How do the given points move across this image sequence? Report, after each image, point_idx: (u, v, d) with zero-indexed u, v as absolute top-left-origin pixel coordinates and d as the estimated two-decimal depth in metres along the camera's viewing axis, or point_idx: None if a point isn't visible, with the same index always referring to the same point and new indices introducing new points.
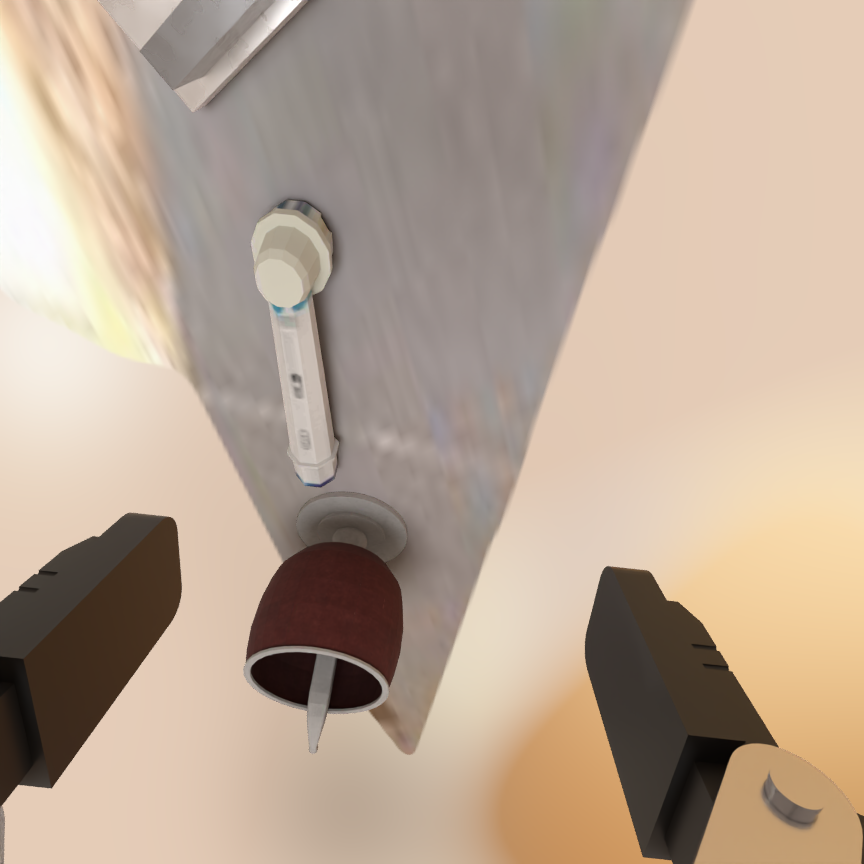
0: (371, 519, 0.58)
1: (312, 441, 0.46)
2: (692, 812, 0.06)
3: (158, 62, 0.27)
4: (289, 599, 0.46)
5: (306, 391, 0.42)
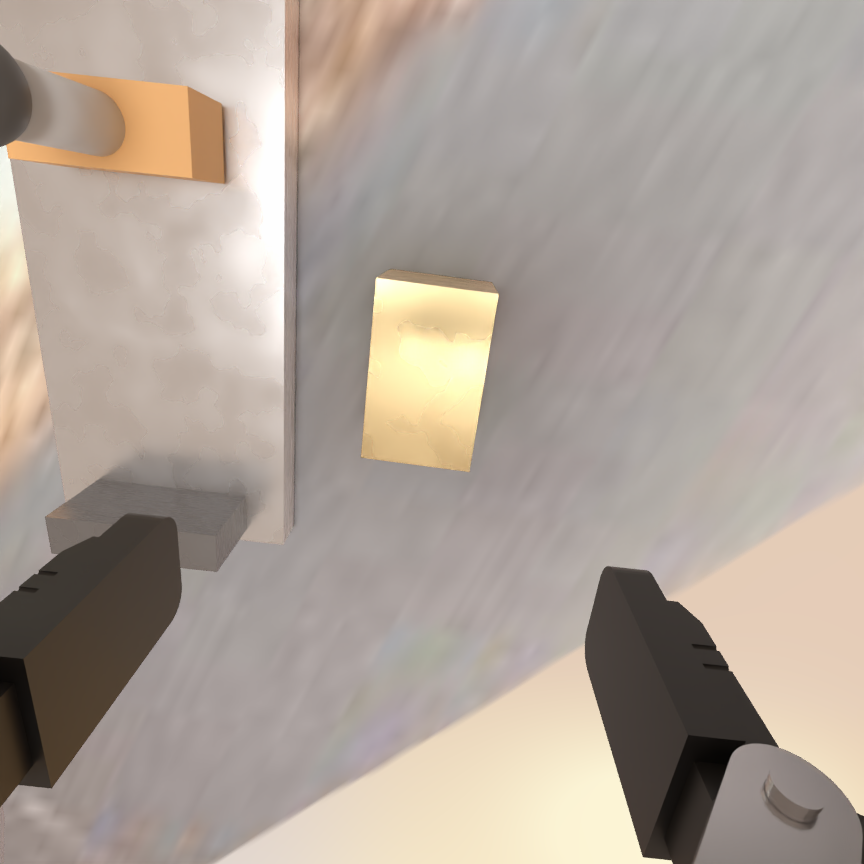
0: None
1: None
2: (692, 812, 0.06)
3: (55, 533, 0.26)
4: None
5: None
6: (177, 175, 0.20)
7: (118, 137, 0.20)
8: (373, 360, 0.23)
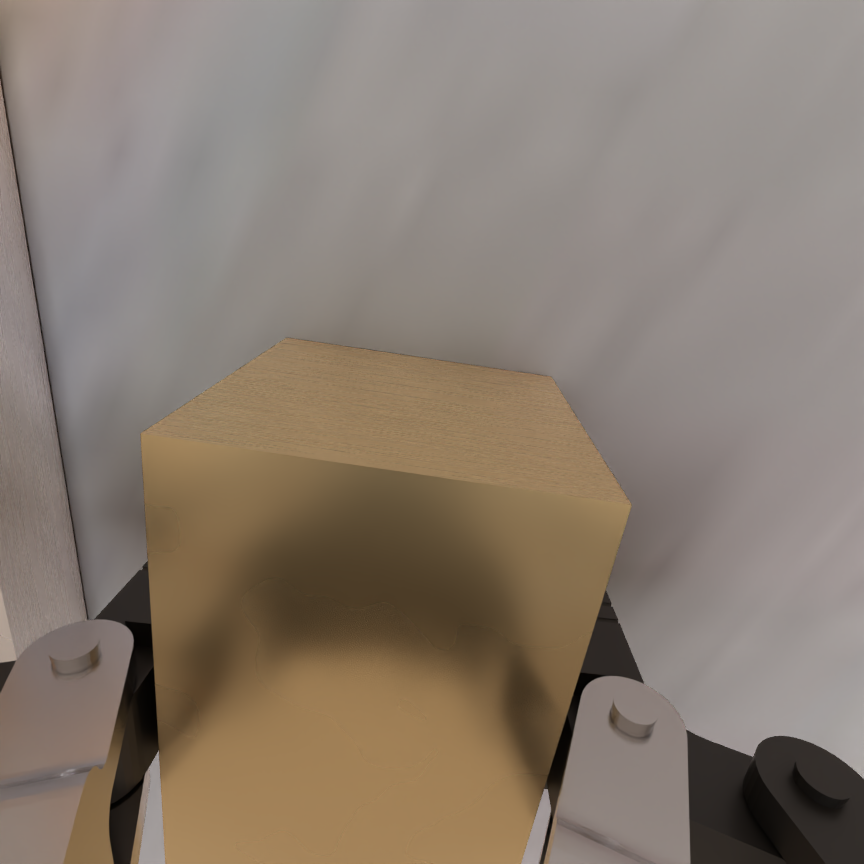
0: None
1: None
2: (560, 739, 0.07)
3: None
4: None
5: None
6: None
7: None
8: (169, 692, 0.07)
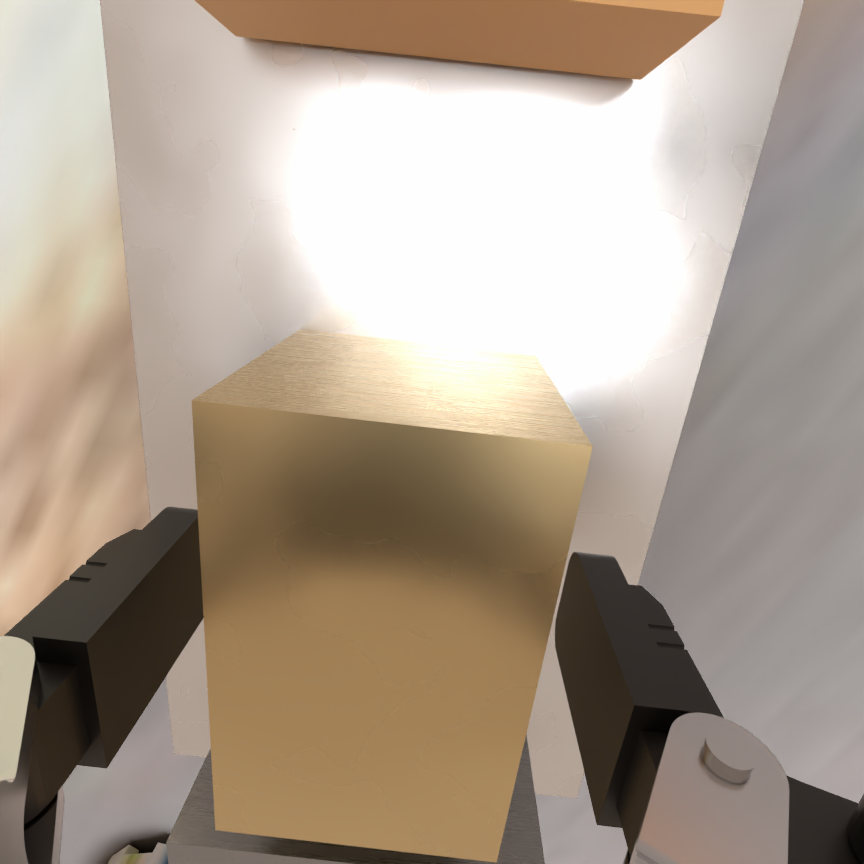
0: None
1: None
2: (639, 778, 0.07)
3: None
4: None
5: None
6: (674, 7, 0.06)
7: None
8: (216, 623, 0.08)
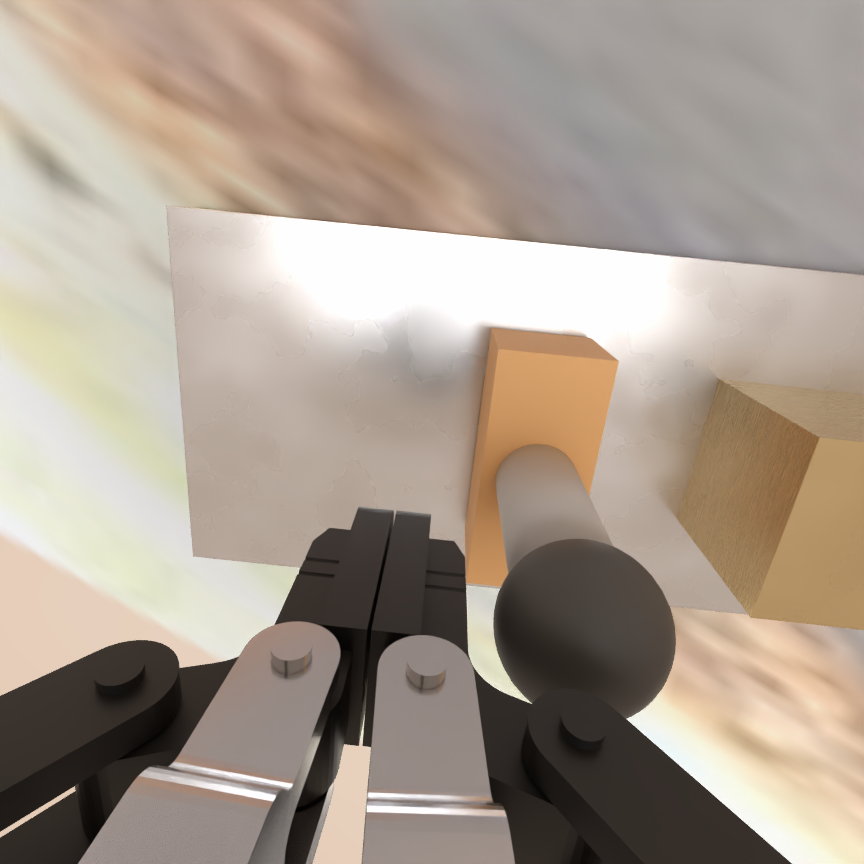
0: None
1: None
2: None
3: None
4: None
5: None
6: (612, 383, 0.14)
7: (560, 454, 0.14)
8: None
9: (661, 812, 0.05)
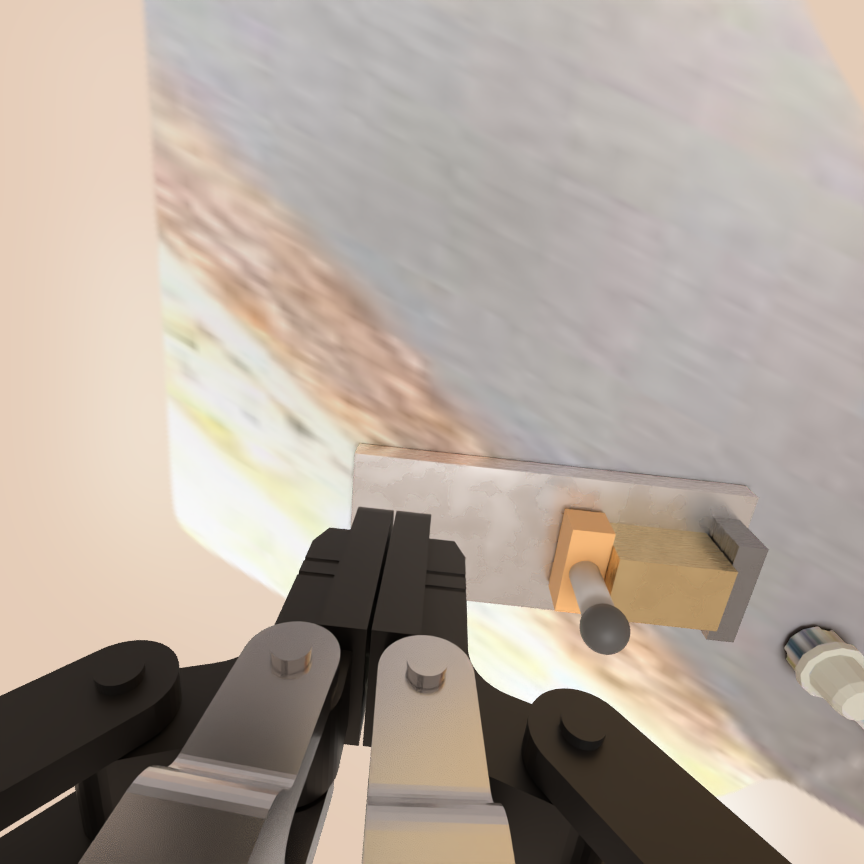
0: None
1: None
2: None
3: (719, 636, 0.40)
4: None
5: None
6: (613, 541, 0.38)
7: (594, 565, 0.38)
8: (652, 622, 0.38)
9: (661, 811, 0.05)
